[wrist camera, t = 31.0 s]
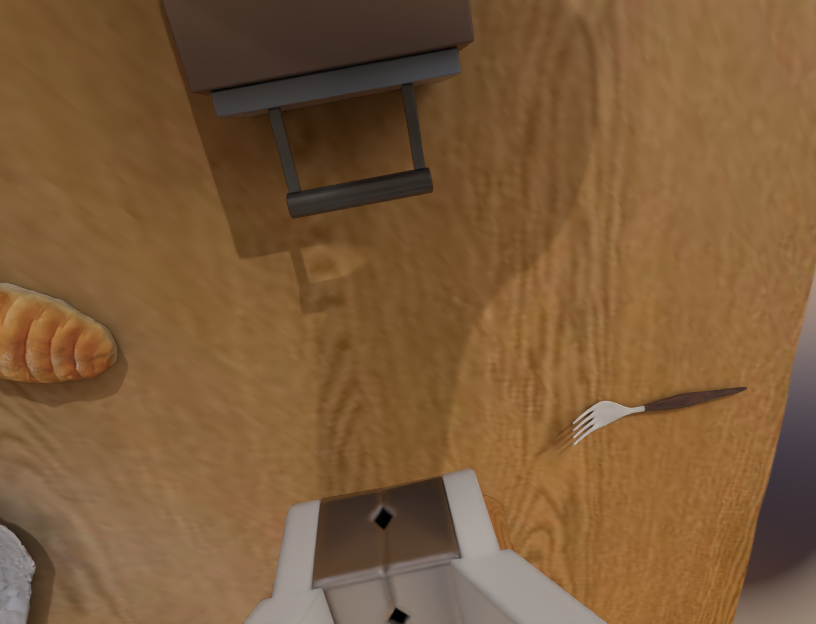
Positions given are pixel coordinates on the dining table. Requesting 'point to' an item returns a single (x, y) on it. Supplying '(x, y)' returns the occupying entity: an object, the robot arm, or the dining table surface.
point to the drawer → (334, 88)
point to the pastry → (49, 339)
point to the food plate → (14, 579)
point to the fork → (644, 408)
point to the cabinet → (305, 36)
